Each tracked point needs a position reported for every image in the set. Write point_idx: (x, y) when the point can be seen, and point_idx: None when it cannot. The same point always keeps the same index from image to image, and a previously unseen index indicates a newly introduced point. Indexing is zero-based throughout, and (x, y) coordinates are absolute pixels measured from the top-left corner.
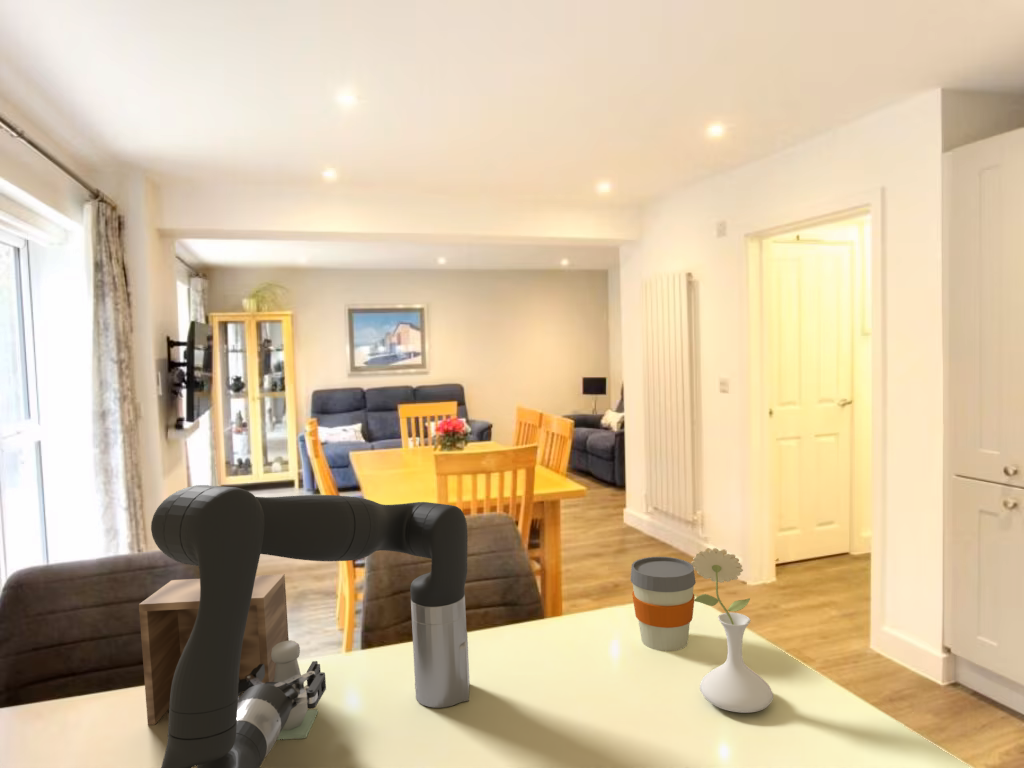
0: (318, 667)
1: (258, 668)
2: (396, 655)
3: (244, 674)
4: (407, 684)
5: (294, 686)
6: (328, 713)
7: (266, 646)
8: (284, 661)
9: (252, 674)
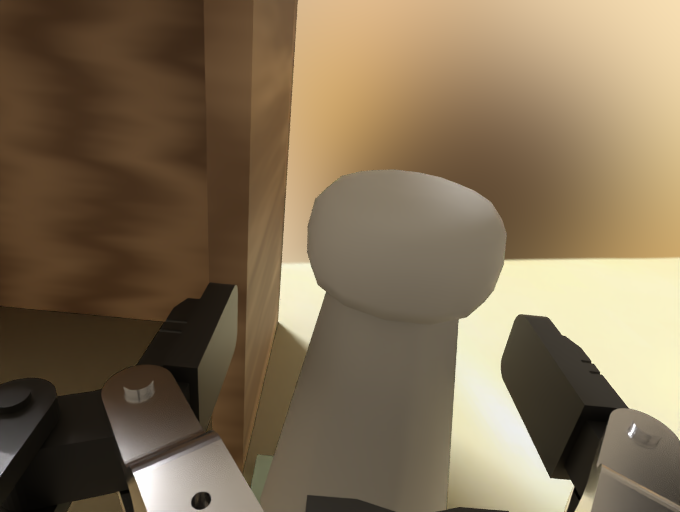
0: (590, 364)
1: (209, 314)
2: (508, 284)
3: (141, 281)
4: (632, 384)
5: (435, 452)
6: (466, 489)
7: (248, 191)
8: (435, 312)
9: (169, 363)
